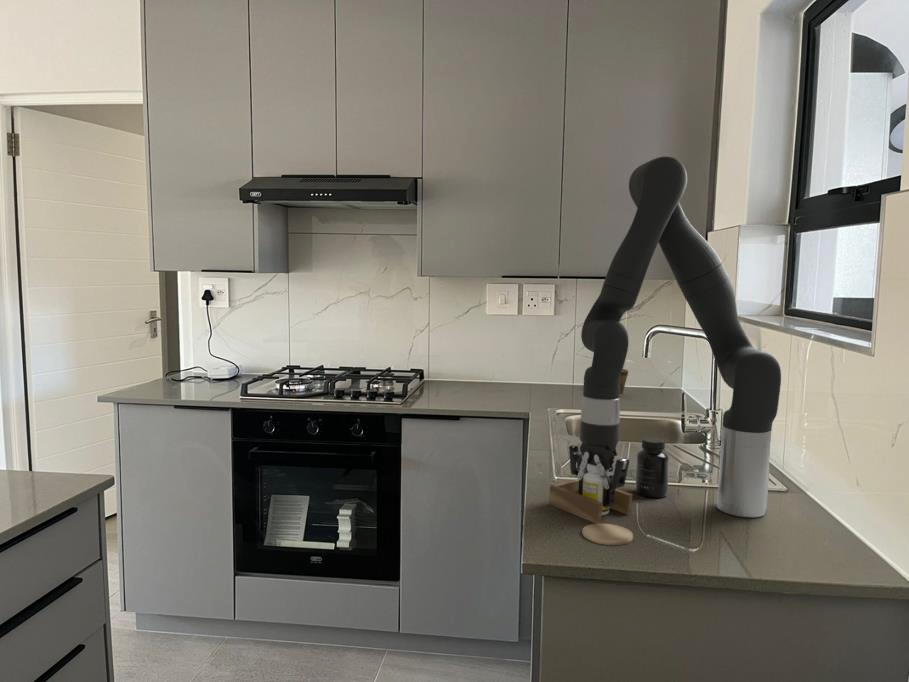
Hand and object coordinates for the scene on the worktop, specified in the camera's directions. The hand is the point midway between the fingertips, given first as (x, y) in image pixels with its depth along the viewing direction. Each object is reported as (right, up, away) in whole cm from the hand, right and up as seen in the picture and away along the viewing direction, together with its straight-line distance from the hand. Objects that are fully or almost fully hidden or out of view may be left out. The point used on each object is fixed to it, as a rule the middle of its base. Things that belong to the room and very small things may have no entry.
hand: (595, 501), depth 142 cm
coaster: (0, -3, -13) cm, 13 cm away
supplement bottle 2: (+14, -1, +12) cm, 19 cm away
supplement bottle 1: (0, -2, 0) cm, 2 cm away
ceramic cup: (+32, +11, +132) cm, 136 cm away
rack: (-1, -2, +1) cm, 2 cm away
